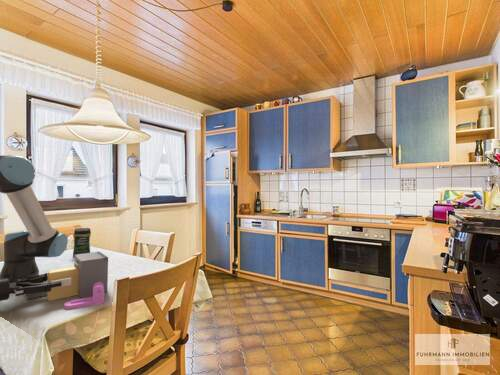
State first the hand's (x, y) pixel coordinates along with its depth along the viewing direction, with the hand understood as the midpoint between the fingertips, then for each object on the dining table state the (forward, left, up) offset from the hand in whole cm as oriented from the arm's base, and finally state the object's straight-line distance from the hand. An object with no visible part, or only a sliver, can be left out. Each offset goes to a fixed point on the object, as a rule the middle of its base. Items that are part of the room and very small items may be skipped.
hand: (68, 278), depth 112 cm
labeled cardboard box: (0, +1, -7) cm, 7 cm away
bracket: (+14, +3, -7) cm, 16 cm away
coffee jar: (-69, +18, -7) cm, 72 cm away
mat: (-10, -4, -7) cm, 13 cm away
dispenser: (0, +8, -7) cm, 11 cm away
